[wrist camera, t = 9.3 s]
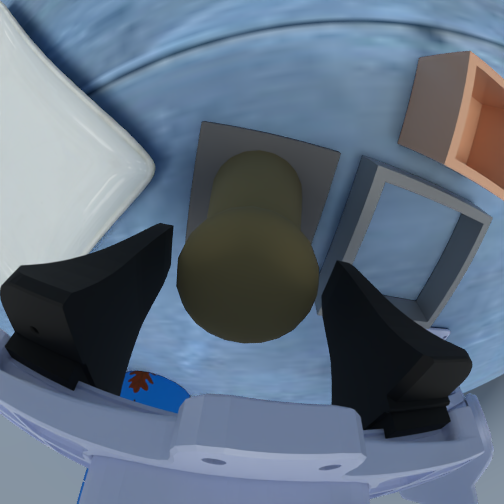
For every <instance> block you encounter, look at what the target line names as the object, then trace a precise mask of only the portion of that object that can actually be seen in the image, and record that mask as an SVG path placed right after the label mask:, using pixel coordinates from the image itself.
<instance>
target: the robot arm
mask: <svg viewBox="0 0 504 504" xmlns="http://www.w3.org/2000/svg"><path fill="white" fill-rule="evenodd" d="M172 237H173V226H172V225H167V224H162V223H159V224H156V225H154V226H152V227H150V228H148V229H146V230H144V231H142V232H140V233H138V234H136V235H134V236H132V237H130V238H128V239H126V240H123V241H121V242H119V243H117V244H114V245H112V246H110V247H107V248H105V249H102V250H99V251H96V252H94V253H90V254H87V255H83V256H79V257H76V258H72V259H68V260H63V261H57V262H51V263H44V264H32V265H21V266H20V267H19V268H18V269H17V270H16V271H15V272H14V273H13V274H12V275H11V276H10V277H9V278H8V279H7V280H6V281H5V282H4V283H3V284H2V285H1V288H0V297H1V302H2V305H3V307H4V310H5V312H6V314H7V316H8V318H9V321H10V323H11V325H12V327H13V329H14V331H15V332H14V334H13V335H12V337H11V338H10V336H9V335H8V334H7V333H6V332H5V331H4V330H2V329H0V414H1V415H3V416H4V417H5V418H6V419H8V420H9V421H11V422H12V423H13V424H15V425H16V426H17V427H19V428H20V429H22V430H23V431H25V432H26V433H27V434H29V435H30V436H32V437H33V438H35V439H36V440H38V441H40V442H41V443H43V444H45V445H46V446H48V447H49V448H51V449H53V450H54V451H56V452H58V453H60V454H61V455H63V456H65V457H67V458H69V459H71V460H72V461H75V462H76V463H78V464H80V465H82V466H85V467H86V468H88V469H89V470H88V473H87V476H86V480H85V483H84V487H83V490H82V494H81V497H80V501H79V504H370V499H372V498H377V497H381V496H384V495H388V494H392V493H395V492H399V493H400V494H401V497H402V498H403V499H406V500H409V501H412V502H416V503H420V504H478V499H477V494H476V489H475V484H476V483H477V481H478V480H479V478H480V477H481V476H482V474H483V473H484V471H485V470H486V468H487V467H488V465H489V464H490V462H491V461H492V459H493V453H494V447H493V444H492V441H491V438H492V437H491V433H490V430H489V428H488V425H487V422H486V419H485V416H484V413H483V411H482V408H481V406H480V403H479V401H478V398H477V396H476V395H473V394H471V393H469V394H468V395H466V398H465V397H464V395H463V393H462V391H461V389H460V387H459V385H460V384H461V383H462V382H463V381H464V380H465V379H466V378H467V376H468V375H469V373H470V371H471V369H472V361H471V359H470V357H469V355H468V353H467V352H466V350H465V349H463V348H460V347H458V346H456V345H454V344H452V343H450V342H447V341H445V340H446V338H447V337H448V336H449V335H450V330H449V329H439V328H429V329H425V328H423V327H422V326H420V325H419V324H417V323H416V322H414V321H413V320H412V319H410V318H409V317H408V316H406V315H405V314H404V313H403V312H401V311H400V310H399V309H398V308H397V307H395V306H394V305H393V304H392V303H391V302H390V301H389V300H388V299H387V298H386V297H384V296H383V295H382V294H381V293H380V292H379V291H378V290H377V289H376V288H375V287H374V286H373V285H372V284H371V283H370V282H369V281H368V280H367V279H366V278H365V277H364V276H363V275H362V274H361V273H360V272H359V271H358V270H357V269H356V268H355V267H354V266H353V265H351V264H350V263H348V262H343V261H339V260H337V261H336V263H335V266H334V268H333V270H332V273H331V275H330V277H329V279H328V282H327V284H326V286H325V289H324V291H323V293H322V295H321V301H322V316H323V321H324V327H325V332H326V337H327V342H328V347H329V353H330V360H331V374H332V405H319V404H302V403H289V402H279V401H270V400H261V399H254V398H247V397H240V396H234V395H221V394H203V395H199V396H194V397H190V398H188V399H185V401H184V402H183V403H182V405H181V406H180V407H179V411H178V414H177V413H173V412H169V411H166V410H162V409H158V408H154V407H151V406H148V405H144V404H141V403H138V402H134V401H131V400H128V399H125V398H122V397H120V394H121V389H122V385H123V381H124V378H125V374H126V370H127V367H128V363H129V360H130V357H131V354H132V351H133V348H134V345H135V342H136V339H137V336H138V334H139V331H140V328H141V326H142V324H143V322H144V320H145V318H146V316H147V314H148V312H149V310H150V308H151V306H152V304H153V303H154V301H155V299H156V297H157V295H158V293H159V292H160V290H161V288H162V286H163V284H164V282H165V279H166V277H167V274H168V271H169V269H170V266H171V253H172Z"/></svg>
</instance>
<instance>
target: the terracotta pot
mask: <svg viewBox="0 0 504 504" xmlns="http://www.w3.org/2000/svg"><path fill="white" fill-rule="evenodd" d="M398 144H400V145H402V146H404V147H407V148H409V149H411V150H413V151H416V152H418V153H420V154H422V155H424V156H426V157H428V158H430V159H432V160H434V161H436V162H438V163H440V164H442V165H444V166H446V167H448V168H450V169H452V170H453V171H455V172H457V173H459V174H461V175H462V176H464V177H466V178H468V179H469V180H471V181H473V182H475V183H476V184H478V185H480V186H481V187H483V188H485V189H486V190H488V191H489V192H491V193H493V194H494V195H496V196H497V197H499V198H500V199H502V200H503V201H504V79H503V78H502V77H501V76H500V75H499V74H497V73H496V72H495V71H494V70H493V69H492V68H491V67H490V66H488V65H487V64H486V63H485V62H484V61H482V60H481V59H480V58H479V57H477V56H476V55H475V54H474V53H472V52H471V51H463V52H454V53H446V54H438V55H432V56H426V57H420V58H419V61H418V66H417V70H416V75H415V80H414V84H413V88H412V93H411V97H410V101H409V105H408V109H407V112H406V116H405V120H404V123H403V127H402V130H401V134H400V137H399V140H398Z"/></svg>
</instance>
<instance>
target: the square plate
mask: <svg viewBox="0 0 504 504" xmlns="http://www.w3.org/2000/svg"><path fill="white" fill-rule="evenodd" d="M154 172H155V164H154V161H153V160H152V158H151V157H150V156H149V155H148V153H147V152H146V151H145V150H144V149H143V147H142V146H141V145H140V144H139V143H138V142H137V141H136V140H135V139H134V138H133V137H132V136H131V135H130V134H129V133H128V132H127V131H126V130H125V129H124V128H123V127H121V126H120V125H119V124H118V123H117V122H116V121H115V120H114V119H113V118H112V117H110V116H109V115H108V114H107V113H106V112H105V111H104V110H102V109H101V108H100V107H99V106H98V105H97V104H96V103H95V102H94V101H93V100H92V99H91V98H89V97H88V96H87V95H86V94H85V93H84V92H83V91H82V90H81V89H79V88H78V87H77V86H76V85H75V84H74V83H73V82H72V81H71V80H70V79H69V78H68V77H66V75H65V74H64V73H63V72H61V71H60V70H59V69H58V68H57V67H56V66H55V65H54V64H53V63H52V62H51V61H50V60H49V59H48V58H47V57H46V55H45V54H44V53H43V52H42V51H41V50H40V49H39V48H38V46H37V45H36V44H35V43H34V42H33V41H32V40H31V39H30V37H29V36H28V35H27V34H26V32H25V31H24V30H23V28H22V27H21V26H20V25H19V23H18V22H17V20H16V19H15V18H14V17H13V15H12V14H11V13H10V11H9V10H8V9H7V7H6V6H5V5H4V4H3V3H2V2H1V1H0V288H1V285H2V284H3V283H4V282H5V281H6V280H7V279H8V278H9V277H10V276H11V275H12V274H13V273H14V272H15V271H16V270H17V269H18V268H19V267H20V266H21V265H32V264H44V263H51V262H57V261H63V260H68V259H72V258H76V257H79V256H83V255H87V254H89V253H90V251H91V250H92V249H93V248H94V246H95V245H96V244H97V243H98V242H99V240H100V239H101V238H102V237H103V236H104V234H105V233H106V232H107V231H108V230H109V229H110V227H111V226H112V225H113V224H114V223H115V222H116V221H117V219H118V218H119V217H120V216H121V215H122V214H123V213H124V212H125V210H126V209H127V208H128V207H129V206H130V205H131V204H132V203H133V201H134V200H135V199H136V198H137V197H138V196H139V195H140V193H141V192H142V191H143V190H144V189H145V188H146V186H147V185H148V184H149V183H150V181H151V179H152V177H153V176H154Z"/></svg>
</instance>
